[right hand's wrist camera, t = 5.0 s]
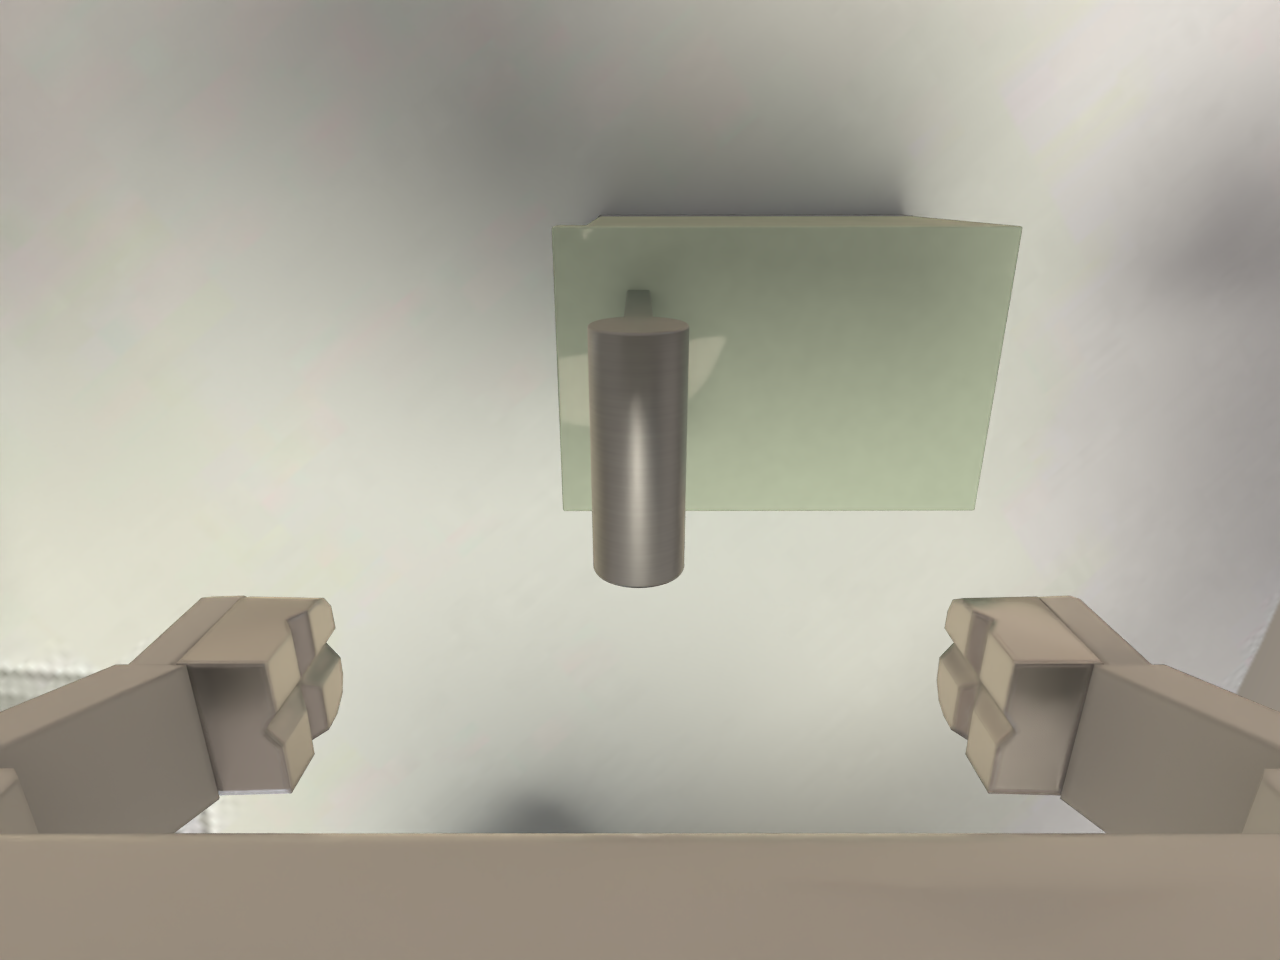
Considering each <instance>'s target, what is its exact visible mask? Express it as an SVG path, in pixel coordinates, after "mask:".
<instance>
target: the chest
mask: <svg viewBox="0 0 1280 960" xmlns="http://www.w3.org/2000/svg"><path fill="white" fill-rule="evenodd" d="M588 225H1001V224H990V223H980V222H969V221H958V220H947V219H937V218H926V217H915V216H909V215H600V216H599V218H597V219H595V220H594V221H592V222H591V223H589V224H588Z"/></svg>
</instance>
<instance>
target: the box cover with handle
mask: <svg viewBox="0 0 1280 960" xmlns="http://www.w3.org/2000/svg"><path fill="white" fill-rule="evenodd" d="M1021 233H1022V227H1021V226H1012V225H557V226H554V227H552V248H553V273H554V298H555V322H556V347H557V371H558V396H559V421H560V445H561V470H562V495H563V510H564V511H592V527H593V565H594V570H595V572H596V574H597V575H598V576H599V577H600V578H602V579H603V580H605V581H607V582H609V583H611V584H614V585H618V586H623V587H631V588H647V587H654V586H659V585H663V584H666V583H669V582H671V581H673V580H674V579H676V578H677V577H678V576H679V575H680V574H681V573H682V571H683V569H684V548H685V511H874V510H974V509H975V503H976V497H977V491H978V485H979V479H980V473H981V468H982V462H983V456H984V450H985V444H986V438H987V432H988V427H989V421H990V415H991V409H992V403H993V397H994V391H995V386H996V380H997V374H998V368H999V362H1000V356H1001V350H1002V345H1003V339H1004V333H1005V327H1006V321H1007V315H1008V309H1009V304H1010V298H1011V292H1012V286H1013V280H1014V274H1015V268H1016V263H1017V257H1018V251H1019V245H1020V239H1021Z"/></svg>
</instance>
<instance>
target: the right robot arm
mask: <svg viewBox="0 0 1280 960" xmlns="http://www.w3.org/2000/svg"><path fill="white" fill-rule="evenodd" d="M334 630H335V623H334V618H333V613H332V608H331V605H330V604H329V603H328V602H327V601H326V600H325V599H324V598H301V597H246V596H215V597H205V598H201V599H200V600H199V601H198V602H197V603H195V604H194V605H193V606H192V607H191V608H190V609H189V610H188V611H187V612H186V613H184V614H183V615H182V616H181V617H180V618H179V619H178V620H177V621H176V622H175V623H174V624H172V625H171V626H170V627H169V628H168V629H167V630H166V631H165V632H164V633H163V634H161V635H160V636H159V637H158V638H157V639H156V640H155V641H154V642H153V643H152V644H151V645H149V646H148V647H147V648H146V649H145V650H144V651H143V652H142V653H141V654H140V655H138V656H137V657H136V658H135V659H134V660H133V661H132V662H131V663H130V664H129V665H113V666H111V667H109V668H106V669H104V670H101V671H99V672H96V673H94V674H92V675H89V676H87V677H84V678H82V679H79V680H77V681H74V682H72V683H70V684H67V685H65V686H62V687H60V688H57V689H55V690H53V691H50V692H48V693H45V694H43V695H40V696H38V697H35V698H33V699H31V700H28V701H26V702H23V703H21V704H18V705H16V706H14V707H11V708H9V709H6V710H4V711H1V712H0V960H1280V712H1278V711H1276V710H1273V709H1271V708H1269V707H1266V706H1264V705H1261V704H1259V703H1256V702H1254V701H1252V700H1249V699H1247V698H1244V697H1242V696H1239V695H1237V694H1235V693H1232V692H1230V691H1227V690H1225V689H1222V688H1220V687H1218V686H1215V685H1213V684H1210V683H1208V682H1205V681H1203V680H1201V679H1198V678H1196V677H1193V676H1191V675H1188V674H1186V673H1184V672H1181V671H1179V670H1176V669H1174V668H1171V667H1169V666H1167V665H1151V664H1150V663H1149V662H1148V661H1147V660H1146V659H1145V658H1144V657H1143V656H1142V655H1141V654H1139V653H1138V652H1137V651H1136V650H1135V649H1134V648H1133V647H1132V646H1131V645H1130V644H1129V643H1127V642H1126V641H1125V640H1124V639H1123V638H1122V637H1121V636H1120V635H1119V634H1118V633H1116V632H1115V631H1114V630H1113V629H1112V628H1111V627H1110V626H1109V625H1108V624H1107V623H1106V622H1104V621H1103V620H1102V619H1101V618H1100V617H1099V616H1098V615H1097V614H1096V613H1095V612H1094V611H1092V610H1091V609H1090V608H1089V607H1088V606H1087V605H1086V604H1085V603H1084V602H1083V601H1082V600H1080V599H1079V598H1075V597H1072V596H1047V597H997V598H961V599H954V600H952V603H951V605H950V607H949V609H948V611H947V617H946V622H945V630H946V631H947V633H948V634H949V636H950V637H951V639H952V641H953V642H954V643H953V644H952V645H951V646H950V647H949V648H948V649H947V650H946V651H945V652H944V653H943V654H942V655H941V657H940V658H939V666H938V674H937V688H938V698H939V703H940V706H941V709H942V712H943V716H944V717H945V719H946V721H947V723H948V725H949V726H950V728H951V730H953V731H954V732H956V733H958V734H959V735H961V736H962V737H964V738H965V739H967V740H968V742H967V748H966V753H965V754H966V756H967V758H968V759H969V761H970V763H971V764H972V766H973V768H974V770H975V771H976V773H977V775H978V776H979V778H980V780H981V781H982V783H983V785H984V787H985V788H986V790H987V792H988V793H996V794H1032V795H1061V797H1060V799H1062V800H1063V801H1064V802H1066V803H1067V804H1068V805H1070V806H1071V807H1072V808H1074V809H1075V810H1076V811H1078V812H1079V813H1080V814H1082V815H1083V816H1084V817H1086V818H1087V819H1088V820H1090V821H1091V822H1092V823H1094V824H1095V825H1096V826H1098V827H1099V828H1100V829H1102V830H1103V831H1104V832H1106V833H175V832H176V831H177V830H179V829H180V828H181V827H183V826H184V825H185V824H187V823H188V822H189V821H191V820H192V819H193V818H195V817H196V816H197V815H199V814H200V813H201V812H203V811H204V810H205V809H207V808H208V807H209V806H211V805H212V804H213V803H215V802H216V801H217V800H219V795H247V794H282V793H292V792H293V790H294V788H295V787H296V785H297V783H298V782H299V780H300V778H301V776H302V775H303V773H304V771H305V770H306V768H307V766H308V765H309V763H310V761H311V759H312V758H313V756H314V754H315V753H314V748H313V742H312V740H313V739H315V738H316V737H318V736H319V735H321V734H322V733H324V732H326V731H327V730H329V728H330V726H331V725H332V723H333V721H334V719H335V717H336V715H337V713H338V709H339V705H340V701H341V697H342V693H343V671H342V665H341V658H340V657H339V655H338V654H337V653H336V652H335V651H334V650H333V649H332V648H331V647H330V646H329V645H328V644H327V643H326V642H327V641H328V639H329V637H330V636H331V634H332V633H333V631H334Z"/></svg>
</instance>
